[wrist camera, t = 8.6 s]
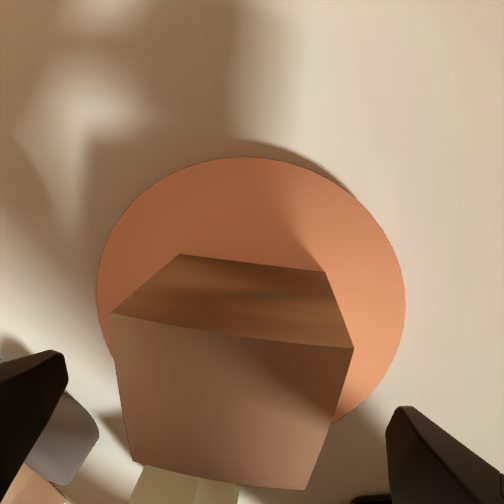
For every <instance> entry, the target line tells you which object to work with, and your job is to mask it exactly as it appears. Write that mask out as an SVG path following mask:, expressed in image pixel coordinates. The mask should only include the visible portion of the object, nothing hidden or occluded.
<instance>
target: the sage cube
mask: <svg viewBox="0 0 504 504" xmlns="http://www.w3.org/2000/svg"><path fill="white" fill-rule="evenodd" d="M239 490H240V489H239V488H238V487H237V486H236V485H235V484H234V483H227V482H221V481H215V480H209V479H204V478H199V477H194V476H189V475H185V474H180V473H176V472H172V471H168V470H164V469H160V468H156V467H152V466H149V465H145V466H144V469H143V471H142V473H141V475H140V477H139V479H138V482H137V484H136V486H135V488H134V490H133V493H132V495H131V497H130V499H129V501H128V503H127V504H237V502H238V496H239Z"/></svg>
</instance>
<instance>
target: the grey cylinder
mask: <svg viewBox="0 0 504 504" xmlns="http://www.w3.org/2000/svg"><path fill="white" fill-rule="evenodd" d="M98 438H99V430H98V427H97V425H96V423H95V421H94V419H93V418H92V417H91V415H90V414H89V413H88V412H87V411H86V409H85V408H84V407H83V406H81V405H80V404H79V403H78V402H77V401H75V400H74V399H73V398H71V397H70V396H68V395H66V394H64V393H63V394H62V396H61V398H60V400H59V402H58V404H57V406H56V408H55V410H54V412H53V414H52V416H51V418H50V420H49V422H48V424H47V425H46V427H45V429H44V430H43V432H42V433H41V435H40V437H39V438H38V440H37V441H36V443H35V445H34V446H33V448H32V450H31V451H30V453H29V455H28V456H27V458H26V460H25V461H24V463H25V464H26V465H27V466H28V467H29V468H30V469H32V470H33V471H34V472H35V473H37V474H38V475H40V476H41V477H43V478H44V479H46V480H48V481H50V482H52V483H54V484H57V485H61V486H67V485H69V484H70V482H71V480H72V479H73V477H74V476H75V474H76V473H77V471H78V469H79V468H80V466H81V465H82V463H83V462H84V460H85V459H86V457H87V456H88V454H89V452H90V451H91V449H92V448H93V446H94V445H95V443H96V442H97V440H98Z"/></svg>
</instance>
